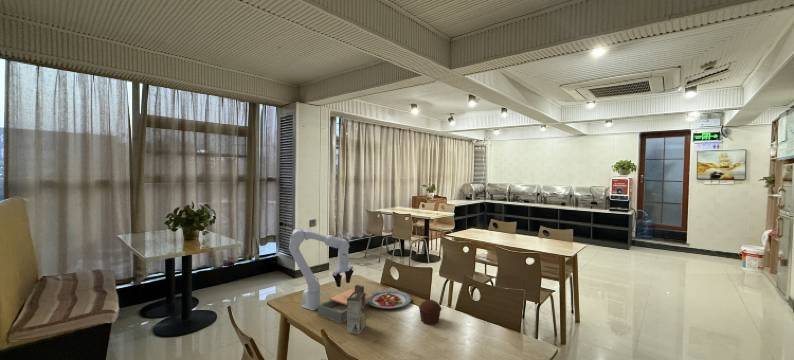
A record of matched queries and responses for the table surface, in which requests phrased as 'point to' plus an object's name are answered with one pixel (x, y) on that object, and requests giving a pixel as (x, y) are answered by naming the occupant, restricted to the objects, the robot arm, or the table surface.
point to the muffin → (430, 312)
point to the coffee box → (356, 312)
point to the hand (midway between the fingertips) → (343, 284)
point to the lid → (345, 295)
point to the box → (333, 311)
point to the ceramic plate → (389, 299)
